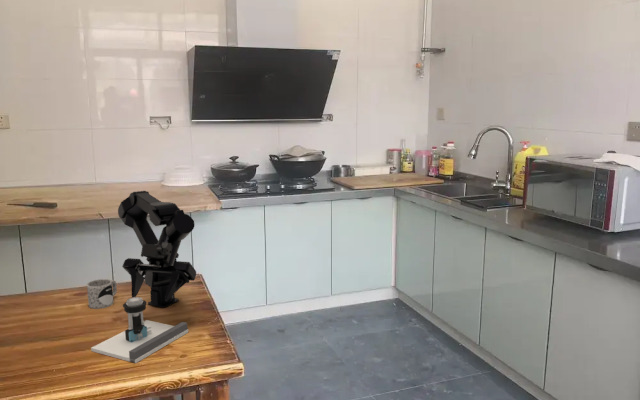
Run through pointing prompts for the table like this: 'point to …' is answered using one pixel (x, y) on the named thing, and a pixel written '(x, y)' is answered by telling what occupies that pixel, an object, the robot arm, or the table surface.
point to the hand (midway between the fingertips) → (149, 299)
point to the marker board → (141, 342)
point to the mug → (101, 293)
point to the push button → (135, 319)
